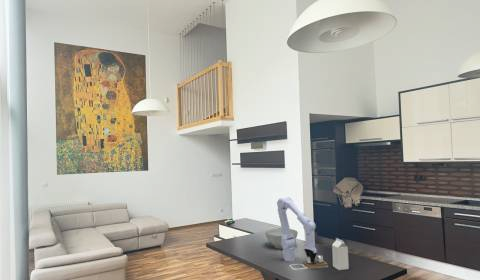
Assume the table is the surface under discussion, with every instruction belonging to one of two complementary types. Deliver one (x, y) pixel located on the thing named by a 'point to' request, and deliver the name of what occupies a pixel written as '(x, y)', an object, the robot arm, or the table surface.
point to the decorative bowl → (278, 236)
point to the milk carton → (340, 255)
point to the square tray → (297, 269)
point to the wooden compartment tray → (315, 265)
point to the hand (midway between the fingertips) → (311, 261)
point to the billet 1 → (309, 260)
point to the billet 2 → (319, 259)
